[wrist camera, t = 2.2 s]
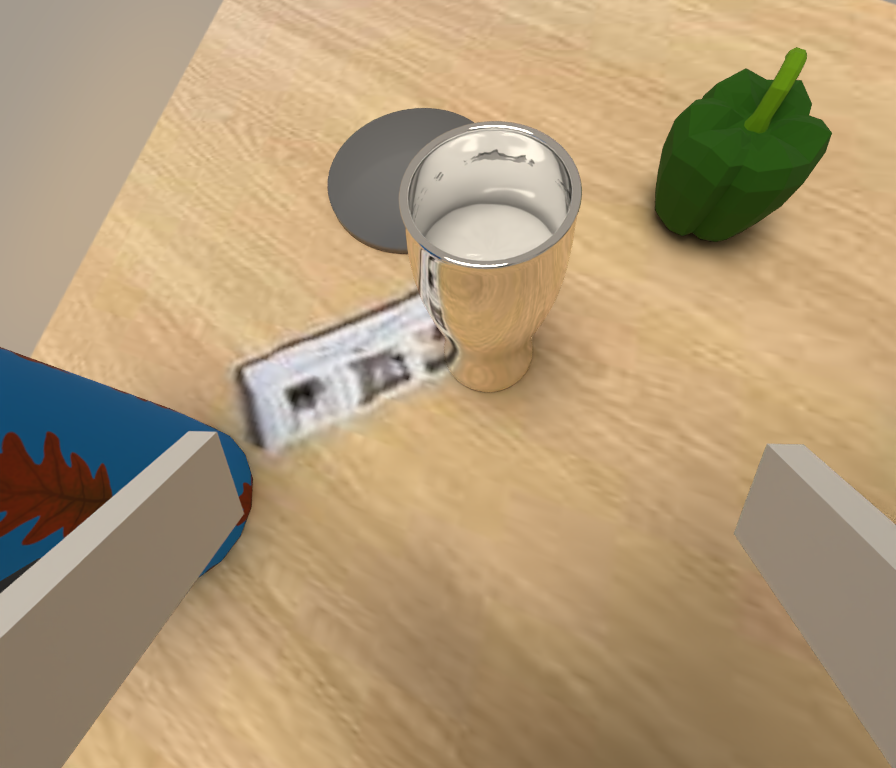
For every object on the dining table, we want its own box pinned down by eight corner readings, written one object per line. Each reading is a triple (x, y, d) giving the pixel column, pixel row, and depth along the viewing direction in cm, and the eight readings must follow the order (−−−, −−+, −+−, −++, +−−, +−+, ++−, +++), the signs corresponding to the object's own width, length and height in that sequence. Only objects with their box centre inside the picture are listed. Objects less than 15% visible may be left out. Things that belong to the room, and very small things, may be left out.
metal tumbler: (511, 416, 28) (538, 304, 13) (420, 372, 29) (357, 230, 15) (555, 329, 29) (618, 148, 15) (466, 292, 31) (448, 95, 17)
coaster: (444, 92, 37) (443, 83, 37) (534, 197, 33) (535, 190, 32) (304, 165, 36) (300, 157, 35) (378, 284, 32) (376, 278, 31)
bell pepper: (701, 281, 29) (803, 167, 20) (615, 210, 32) (669, 78, 22) (783, 215, 31) (916, 77, 21) (694, 151, 33) (777, 2, 24)
